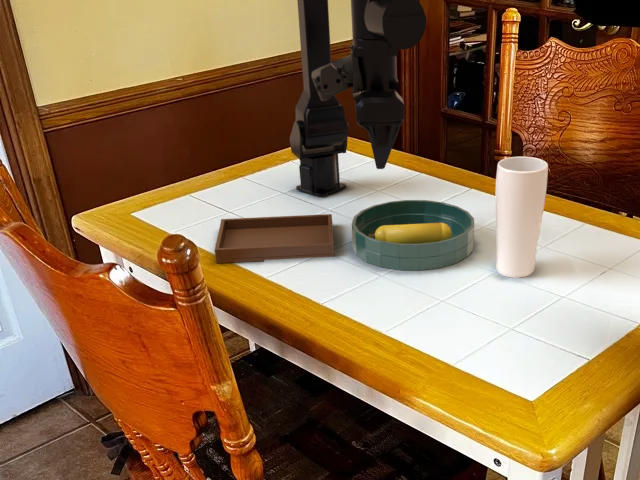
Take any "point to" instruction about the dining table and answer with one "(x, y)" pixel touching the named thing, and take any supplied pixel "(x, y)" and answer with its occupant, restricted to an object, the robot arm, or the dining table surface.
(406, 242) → the yellow gas canister
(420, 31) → the robot arm
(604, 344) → the dining table surface
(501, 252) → the drinking glass
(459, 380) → the dining table surface
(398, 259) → the green round cake pan
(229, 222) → the tray
